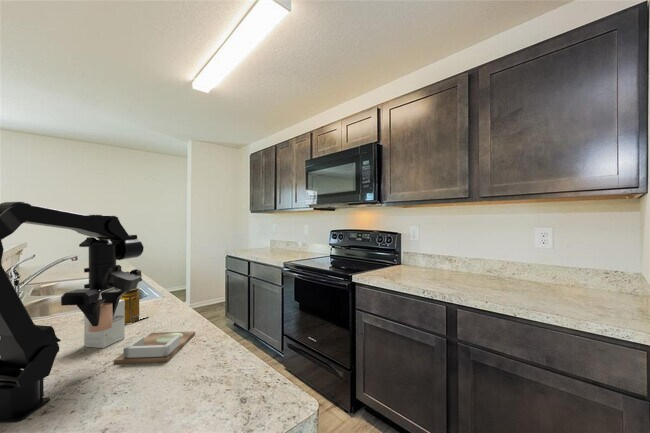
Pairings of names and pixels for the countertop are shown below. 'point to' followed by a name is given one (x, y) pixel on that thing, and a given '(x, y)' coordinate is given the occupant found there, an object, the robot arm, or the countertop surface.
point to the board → (158, 339)
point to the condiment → (131, 306)
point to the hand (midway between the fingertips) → (103, 322)
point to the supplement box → (109, 335)
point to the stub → (103, 318)
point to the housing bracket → (150, 348)
